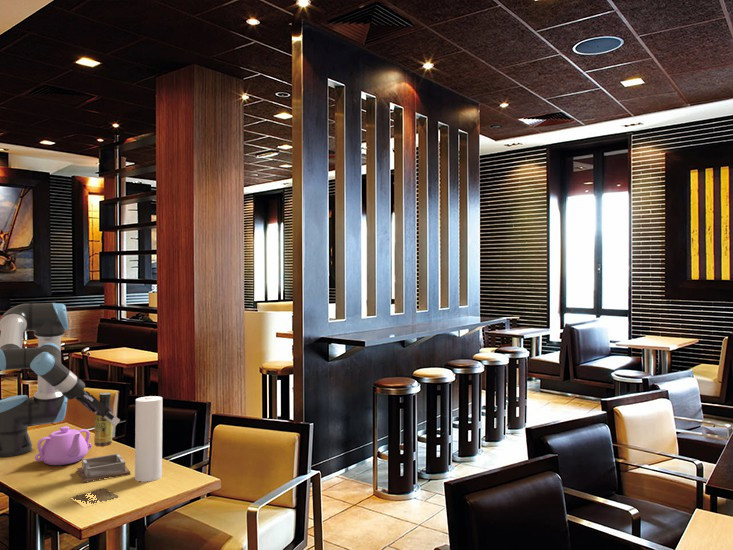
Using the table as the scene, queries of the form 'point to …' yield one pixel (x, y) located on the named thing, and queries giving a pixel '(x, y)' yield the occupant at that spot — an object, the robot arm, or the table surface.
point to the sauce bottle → (103, 424)
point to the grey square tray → (102, 467)
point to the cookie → (100, 495)
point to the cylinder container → (148, 438)
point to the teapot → (63, 446)
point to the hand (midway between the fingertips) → (113, 421)
